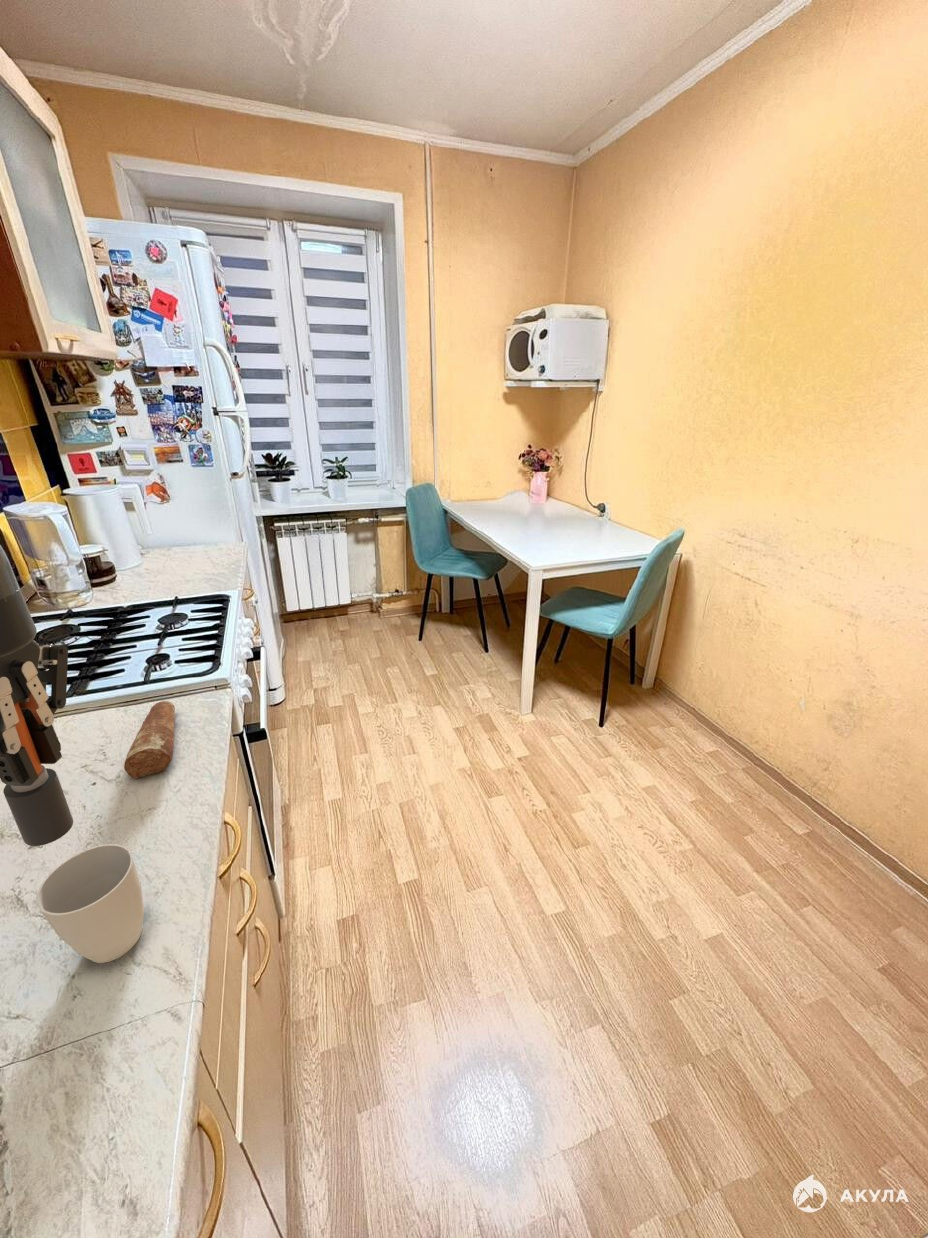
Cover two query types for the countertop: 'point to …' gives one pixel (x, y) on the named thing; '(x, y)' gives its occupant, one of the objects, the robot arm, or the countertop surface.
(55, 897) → the cup
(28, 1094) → the countertop surface
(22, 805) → the brush
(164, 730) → the bread
